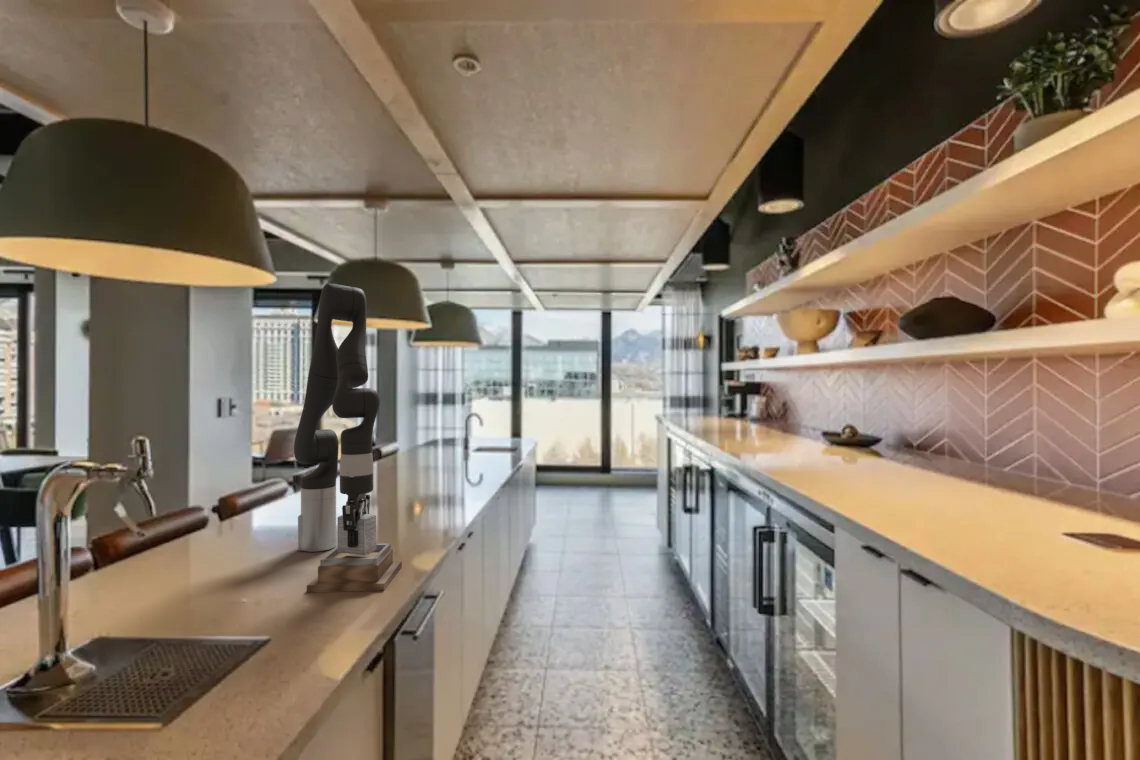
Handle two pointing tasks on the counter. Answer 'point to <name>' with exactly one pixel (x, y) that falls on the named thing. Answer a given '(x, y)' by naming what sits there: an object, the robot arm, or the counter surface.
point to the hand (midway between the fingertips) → (356, 543)
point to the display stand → (356, 571)
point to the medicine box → (359, 536)
